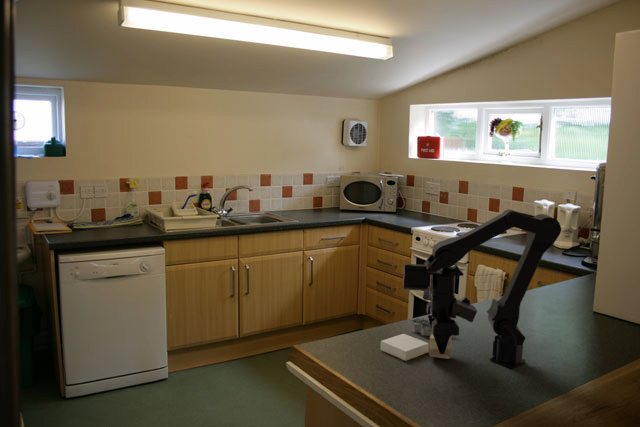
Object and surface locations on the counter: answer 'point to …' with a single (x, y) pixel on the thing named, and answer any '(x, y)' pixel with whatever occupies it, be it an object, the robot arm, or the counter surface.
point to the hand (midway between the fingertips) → (440, 349)
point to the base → (404, 346)
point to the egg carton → (421, 326)
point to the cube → (435, 352)
